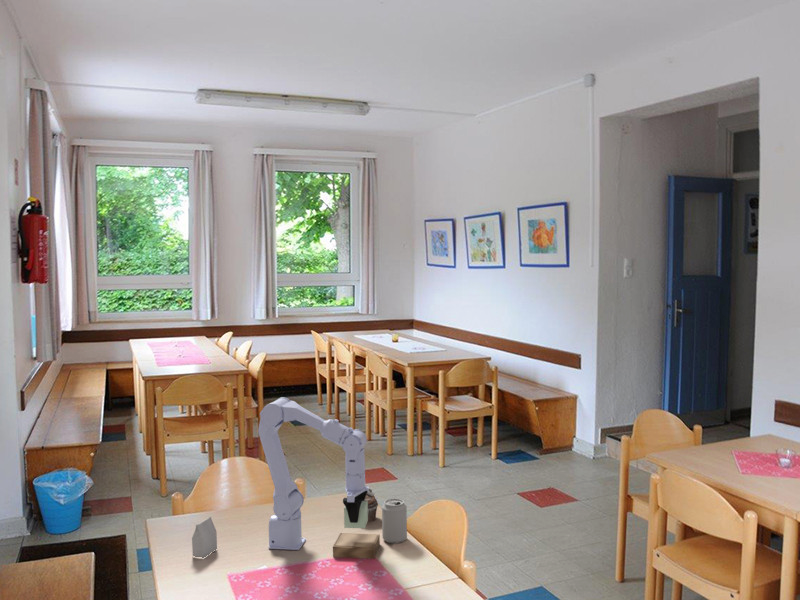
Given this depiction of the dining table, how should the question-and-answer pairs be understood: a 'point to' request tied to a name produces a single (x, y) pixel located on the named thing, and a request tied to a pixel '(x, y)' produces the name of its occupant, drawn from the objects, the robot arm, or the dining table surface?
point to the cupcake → (371, 505)
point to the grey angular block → (204, 538)
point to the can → (394, 521)
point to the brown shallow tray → (356, 545)
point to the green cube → (361, 519)
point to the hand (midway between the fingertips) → (356, 517)
